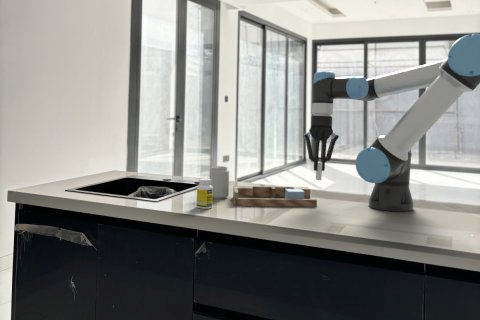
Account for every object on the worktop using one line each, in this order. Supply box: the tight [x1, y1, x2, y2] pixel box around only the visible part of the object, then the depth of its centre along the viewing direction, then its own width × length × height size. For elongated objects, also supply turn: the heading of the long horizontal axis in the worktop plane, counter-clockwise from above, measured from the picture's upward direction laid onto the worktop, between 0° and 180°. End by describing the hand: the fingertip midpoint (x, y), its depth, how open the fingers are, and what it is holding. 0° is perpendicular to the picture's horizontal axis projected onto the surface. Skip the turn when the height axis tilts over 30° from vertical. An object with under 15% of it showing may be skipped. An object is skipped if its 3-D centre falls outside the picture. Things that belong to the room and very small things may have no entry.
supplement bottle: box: [196, 177, 214, 210], centre depth 143 cm, size 5×5×10 cm
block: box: [285, 189, 305, 199], centre depth 155 cm, size 6×6×5 cm
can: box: [209, 165, 230, 200], centre depth 162 cm, size 8×8×12 cm
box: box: [232, 185, 318, 208], centre depth 156 cm, size 29×16×4 cm, turn 93°
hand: (318, 179), depth 155 cm, fingers closed
